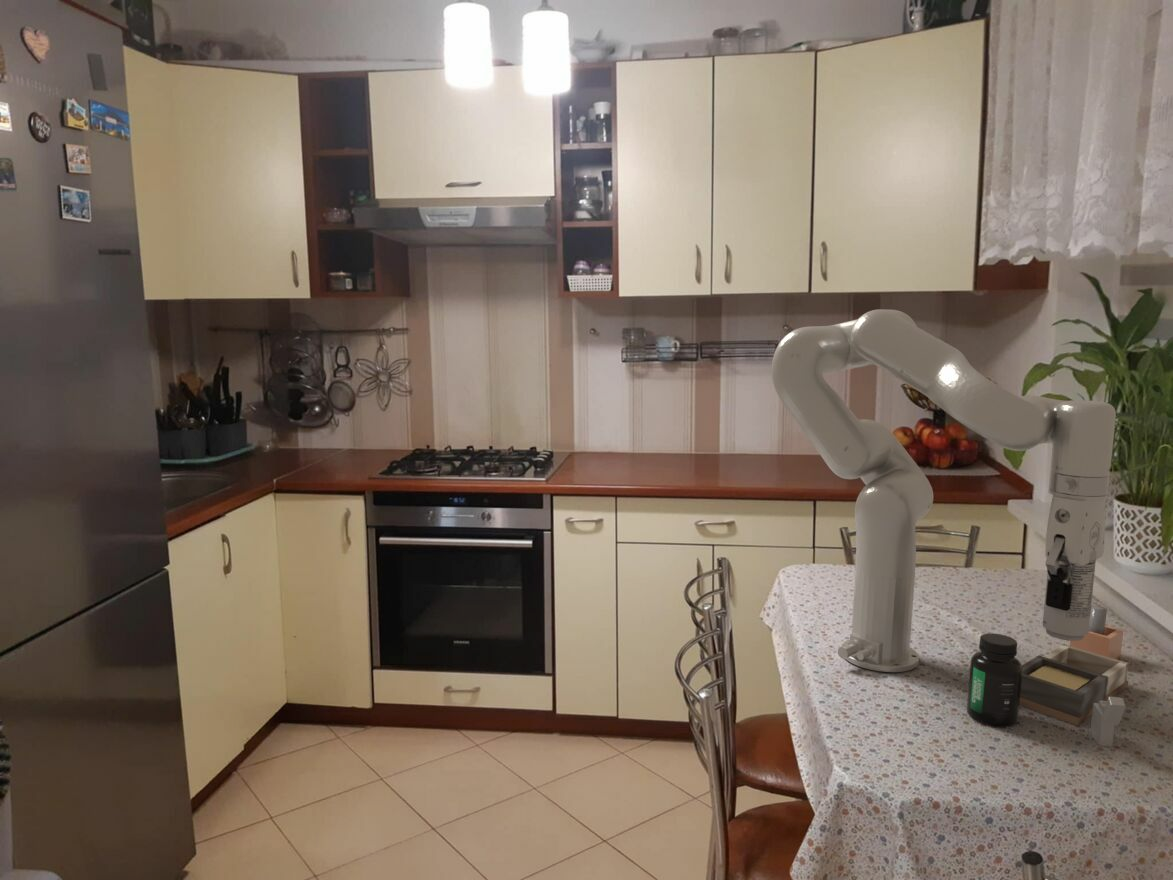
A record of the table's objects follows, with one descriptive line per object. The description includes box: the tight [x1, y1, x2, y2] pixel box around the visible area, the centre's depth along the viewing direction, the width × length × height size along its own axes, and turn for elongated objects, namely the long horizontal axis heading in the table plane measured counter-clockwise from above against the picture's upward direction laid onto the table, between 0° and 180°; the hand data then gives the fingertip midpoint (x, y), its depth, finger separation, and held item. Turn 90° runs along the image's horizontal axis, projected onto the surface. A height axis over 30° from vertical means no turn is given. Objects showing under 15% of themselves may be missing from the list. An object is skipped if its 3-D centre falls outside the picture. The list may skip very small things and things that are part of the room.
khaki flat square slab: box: [1030, 665, 1091, 691], centre depth 127 cm, size 7×7×1 cm
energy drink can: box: [1042, 549, 1097, 642], centre depth 125 cm, size 6×6×15 cm
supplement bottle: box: [966, 632, 1023, 728], centre depth 122 cm, size 7×7×12 cm
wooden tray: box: [1019, 643, 1129, 726], centre depth 130 cm, size 20×10×4 cm, turn 130°
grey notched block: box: [1089, 696, 1126, 748], centre depth 115 cm, size 7×2×8 cm, turn 164°
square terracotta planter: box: [1069, 605, 1124, 660], centre depth 144 cm, size 6×6×9 cm
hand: (1067, 601), depth 125 cm, fingers closed on energy drink can, 6 cm apart
